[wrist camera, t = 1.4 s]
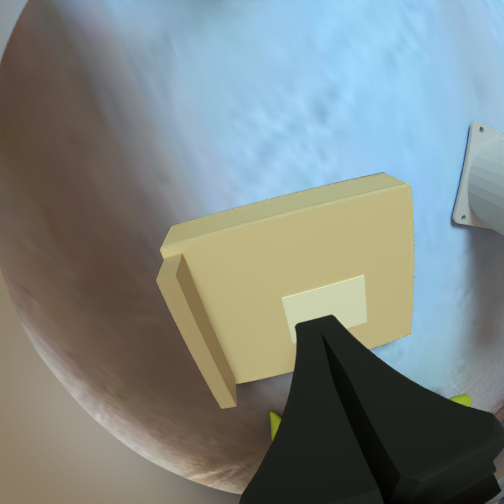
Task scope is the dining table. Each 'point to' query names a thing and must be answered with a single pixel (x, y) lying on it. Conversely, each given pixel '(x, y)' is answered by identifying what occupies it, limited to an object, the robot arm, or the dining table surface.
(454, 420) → the robot arm
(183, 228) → the mailer box
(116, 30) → the dining table surface
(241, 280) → the lid
